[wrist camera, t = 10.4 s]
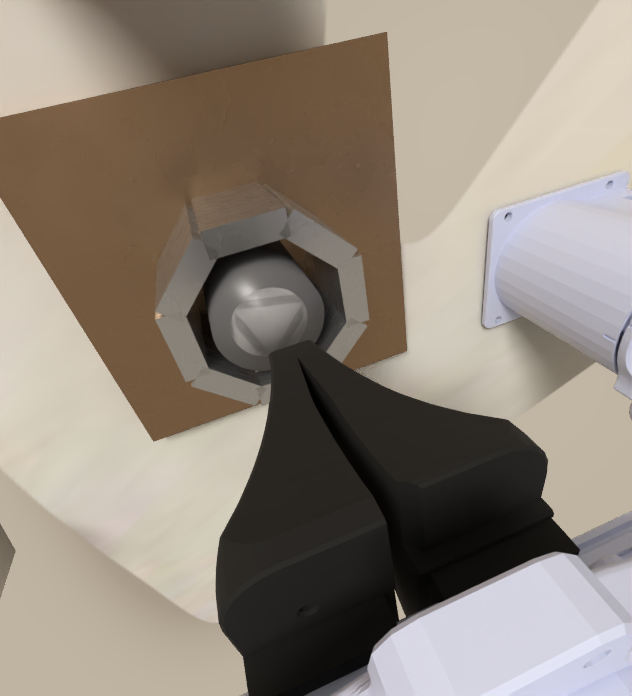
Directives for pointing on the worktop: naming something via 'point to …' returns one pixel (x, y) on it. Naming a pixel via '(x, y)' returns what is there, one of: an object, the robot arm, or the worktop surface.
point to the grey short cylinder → (260, 305)
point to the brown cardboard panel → (215, 215)
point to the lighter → (5, 557)
